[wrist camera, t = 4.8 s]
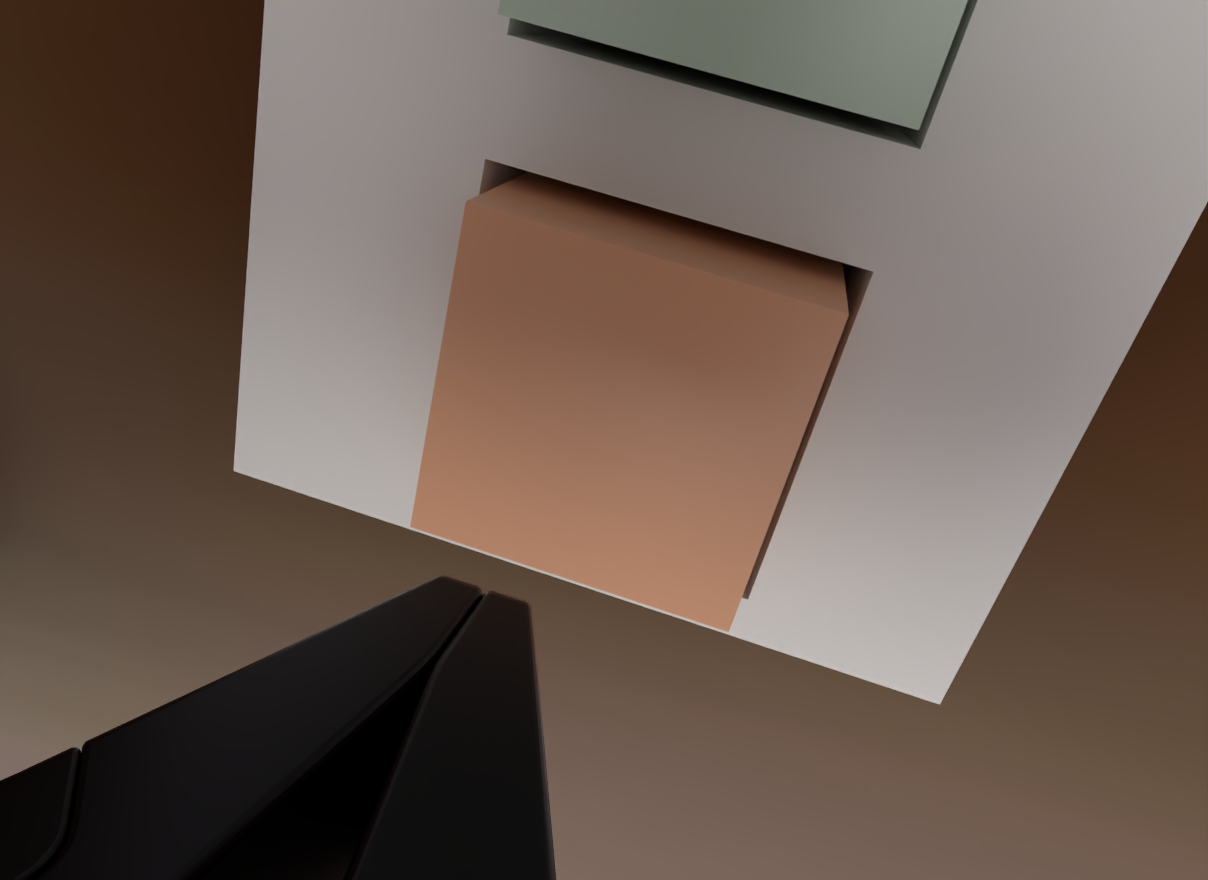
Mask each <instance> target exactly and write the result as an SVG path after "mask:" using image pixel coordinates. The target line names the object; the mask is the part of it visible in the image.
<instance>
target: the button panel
mask: <svg viewBox="0 0 1208 880" xmlns="http://www.w3.org/2000/svg"><path fill="white" fill-rule="evenodd" d="M499 4H500V0H265V4H264V19H263V34H262V49H261V64H260V79H259V94H258V109H257V124H256V139H255V154H254V169H253V185H252V200H251V215H250V230H249V245H248V260H247V275H246V290H245V305H244V320H243V335H242V350H241V366H240V381H239V396H238V411H237V426H236V441H235V456H234V471H235V472H238V473H241V474H244V475H247V476H250V477H253V478H256V479H259V480H262V481H266V482H269V483H272V484H275V485H278V486H281V487H284V488H287V489H290V490H293V491H296V492H299V493H302V494H305V495H308V496H311V497H314V498H317V499H320V500H323V501H326V502H329V503H332V504H335V505H338V506H341V507H344V508H347V509H350V510H353V511H356V512H359V513H362V514H365V515H368V516H371V517H374V518H377V519H380V520H383V521H386V522H389V523H392V524H395V525H399V526H402V527H405V528H408V529H411V530H414V531H417V532H420V533H423V534H426V535H429V536H432V537H435V538H438V539H441V540H444V541H447V542H450V543H453V544H456V545H459V546H462V547H465V548H468V549H471V550H474V551H477V552H480V553H483V554H486V555H489V556H492V557H495V558H498V559H501V560H504V561H507V562H510V563H513V564H516V565H519V566H522V567H525V568H528V569H532V570H535V571H538V572H541V573H544V574H547V575H550V576H553V577H556V578H559V579H562V580H565V581H568V582H571V583H574V584H577V585H580V586H583V587H586V588H589V589H592V590H595V591H598V592H601V593H604V594H607V595H610V596H613V597H616V598H619V599H622V600H625V601H628V602H631V603H634V604H637V605H640V606H643V607H646V608H649V609H652V610H655V611H658V612H661V613H664V614H668V615H671V616H674V617H677V618H680V619H683V620H686V621H689V622H692V623H695V624H698V625H701V626H704V627H707V628H710V629H713V630H716V631H719V632H722V633H725V634H728V635H731V636H734V637H737V638H740V639H743V640H746V641H749V642H752V643H755V644H758V645H761V646H764V647H767V648H770V649H773V650H776V651H779V652H782V653H785V654H788V655H791V656H794V657H797V658H801V659H804V660H807V661H810V662H813V663H816V664H819V665H822V666H825V667H828V668H831V669H834V670H837V671H840V672H843V673H846V674H849V675H852V676H855V677H858V678H861V679H864V680H867V681H870V682H873V683H876V684H879V685H882V686H885V687H888V688H891V689H894V690H897V691H900V692H903V693H906V694H909V695H912V696H915V697H918V698H921V699H924V700H927V701H930V702H934V703H937V704H940V703H941V701H942V699H943V698H944V696H945V694H946V692H947V690H948V688H949V686H950V684H951V683H952V681H953V679H954V677H955V675H956V673H957V671H958V669H959V667H960V666H961V664H962V662H963V660H964V658H965V656H966V654H967V652H968V651H969V649H970V647H971V645H972V643H973V641H974V639H975V637H976V636H977V634H978V632H979V630H980V628H981V626H982V624H983V622H984V621H985V619H986V617H987V615H988V613H989V611H990V609H991V607H992V606H993V604H994V602H995V600H996V598H997V596H998V594H999V592H1000V591H1001V589H1002V587H1003V585H1004V583H1005V581H1006V579H1007V577H1008V576H1009V574H1010V572H1011V570H1012V568H1013V566H1014V564H1015V562H1016V561H1017V559H1018V557H1019V555H1020V553H1021V551H1022V549H1023V547H1024V546H1025V544H1026V542H1027V540H1028V538H1029V536H1030V534H1031V532H1032V530H1033V529H1034V527H1035V525H1036V523H1037V521H1038V519H1039V517H1040V515H1041V514H1042V512H1043V510H1044V508H1045V506H1046V504H1047V502H1048V500H1049V499H1050V497H1051V495H1052V493H1053V491H1054V489H1055V487H1056V485H1057V484H1058V482H1059V480H1060V478H1061V476H1062V474H1063V472H1064V470H1065V469H1066V467H1067V465H1068V463H1069V461H1070V459H1071V457H1072V455H1073V454H1074V452H1075V450H1076V448H1077V446H1078V444H1079V442H1080V440H1081V439H1082V437H1083V435H1084V433H1085V431H1086V429H1087V427H1088V425H1089V424H1090V422H1091V420H1092V418H1093V416H1094V414H1095V412H1096V410H1097V409H1098V407H1099V405H1100V403H1101V401H1102V399H1103V397H1104V395H1105V393H1106V392H1107V390H1108V388H1109V386H1110V384H1111V382H1112V380H1113V378H1114V377H1115V375H1116V373H1117V371H1118V369H1119V367H1120V365H1121V363H1122V362H1123V360H1124V358H1125V356H1126V354H1127V352H1128V350H1129V348H1130V347H1131V345H1132V343H1133V341H1134V339H1135V337H1136V335H1137V333H1138V332H1139V330H1140V328H1141V326H1142V324H1143V322H1144V320H1145V318H1146V317H1147V315H1148V313H1149V311H1150V309H1151V307H1152V305H1153V303H1154V302H1155V300H1156V298H1157V296H1158V294H1159V292H1160V290H1161V288H1162V287H1163V285H1164V283H1165V281H1166V279H1167V277H1168V275H1169V273H1170V272H1171V270H1172V268H1173V266H1174V264H1175V262H1176V260H1177V258H1178V256H1179V255H1180V253H1181V251H1182V249H1183V247H1184V245H1185V243H1186V241H1187V240H1188V238H1189V236H1190V234H1191V232H1192V230H1193V228H1194V226H1195V225H1196V223H1197V221H1198V219H1199V217H1200V215H1201V213H1202V211H1203V210H1204V208H1205V206H1206V204H1207V202H1208V0H968V2H967V4H966V7H965V10H964V12H963V15H962V18H961V20H960V23H959V26H958V28H957V31H956V33H955V36H954V39H953V41H952V44H951V47H950V49H949V52H948V55H947V57H946V60H945V63H944V65H943V68H942V70H941V73H940V76H939V78H938V81H937V84H936V86H935V89H934V92H933V94H932V97H931V99H930V102H929V105H928V107H927V110H926V113H925V115H924V118H923V121H922V123H921V126H920V129H919V130H916V129H912V128H908V127H905V126H901V125H898V124H893V123H889V122H886V121H882V120H878V119H875V118H871V117H868V116H864V115H860V114H857V113H853V112H849V111H846V110H842V109H839V108H835V107H831V106H828V105H824V104H820V103H817V102H813V101H810V100H806V99H802V98H799V97H795V96H791V95H788V94H784V93H781V92H777V91H773V90H770V89H766V88H762V87H759V86H755V85H752V84H748V83H744V82H741V81H737V80H733V79H730V78H726V77H723V76H719V75H715V74H712V73H708V72H704V71H701V70H697V69H693V68H690V67H686V66H683V65H679V64H675V63H672V62H668V61H664V60H661V59H657V58H654V57H650V56H646V55H643V54H639V53H635V52H632V51H628V50H625V49H621V48H617V47H614V46H610V45H606V44H603V43H599V42H596V41H592V40H588V39H585V38H581V37H577V36H575V35H571V34H568V33H564V32H560V31H557V30H553V29H549V28H546V27H542V26H538V25H535V24H531V23H528V22H524V21H520V20H517V19H513V18H509V17H506V16H502V15H499V14H498V10H499ZM527 172H532V173H536V174H539V175H543V176H546V177H549V178H553V179H556V180H560V181H563V182H567V183H570V184H574V185H577V186H580V187H584V188H587V189H591V190H594V191H598V192H601V193H604V194H608V195H611V196H615V197H618V198H622V199H625V200H629V201H632V202H635V203H639V204H642V205H646V206H649V207H653V208H656V209H660V210H663V211H666V212H670V213H673V214H677V215H680V216H684V217H687V218H690V219H694V220H697V221H701V222H704V223H708V224H711V225H715V226H718V227H721V228H725V229H728V230H732V231H735V232H739V233H742V234H746V235H749V236H752V237H756V238H759V239H763V240H766V241H770V242H773V243H776V244H780V245H783V246H787V247H790V248H794V249H797V250H801V251H804V252H807V253H811V254H814V255H818V256H821V257H825V258H828V259H831V260H835V261H838V262H842V263H845V264H844V267H843V272H844V279H845V287H846V295H847V302H848V310H849V316H848V319H847V321H846V324H845V327H844V329H843V332H842V334H841V337H840V340H839V342H838V345H837V348H836V350H835V353H834V356H833V358H832V361H831V364H830V366H829V369H828V371H827V374H826V377H825V379H824V382H823V385H822V387H821V390H820V393H819V395H818V398H817V400H816V403H815V406H814V408H813V411H812V414H811V416H810V419H809V422H808V424H807V427H806V430H805V432H804V435H803V437H802V440H801V443H800V445H799V448H798V451H797V453H796V456H795V459H794V461H793V464H792V466H791V469H790V472H789V474H788V477H787V480H786V482H785V485H784V488H783V490H782V493H781V496H780V498H779V501H778V503H777V506H776V509H775V511H774V514H773V517H772V519H771V522H770V525H769V527H768V530H767V533H766V535H765V538H764V540H763V543H762V546H761V548H760V551H759V554H758V556H757V559H756V562H755V564H754V567H753V569H752V572H751V575H750V577H749V580H748V583H747V585H746V588H745V591H744V593H743V596H742V599H741V601H740V604H739V606H738V609H737V612H736V614H735V617H734V620H733V622H732V625H731V628H730V630H729V632H727V631H724V630H721V629H718V628H715V627H712V626H709V625H706V624H703V623H700V622H697V621H694V620H691V619H688V618H684V617H681V616H678V615H675V614H672V613H669V612H666V611H663V610H660V609H657V608H654V607H651V606H648V605H645V604H642V603H639V602H636V601H633V600H630V599H627V598H624V597H621V596H618V595H615V594H612V593H609V592H606V591H603V590H600V589H597V588H594V587H591V586H588V585H585V584H582V583H579V582H576V581H573V580H570V579H567V578H563V577H560V576H557V575H554V574H551V573H548V572H545V571H542V570H539V569H536V568H533V567H530V566H527V565H524V564H521V563H518V562H515V561H512V560H509V559H506V558H503V557H500V556H497V555H494V554H491V553H488V552H485V551H482V550H479V549H476V548H473V547H470V546H467V545H464V544H461V543H458V542H455V541H452V540H449V539H446V538H442V537H439V536H436V535H433V534H430V533H427V532H424V531H421V530H418V529H415V528H412V527H410V525H411V519H412V513H413V507H414V501H415V496H416V490H417V484H418V478H419V472H420V466H421V461H422V455H423V449H424V443H425V437H426V431H427V425H428V420H429V414H430V408H431V402H432V396H433V390H434V384H435V379H436V373H437V367H438V361H439V355H440V349H441V343H442V338H443V332H444V326H445V320H446V314H447V308H448V303H449V297H450V291H451V285H452V279H453V273H454V267H455V262H456V256H457V250H458V244H459V238H460V232H461V226H462V221H463V215H464V209H465V203H466V201H467V200H469V199H471V198H474V197H476V196H478V195H480V194H482V193H484V192H487V191H489V190H491V189H493V188H495V187H497V186H499V185H502V184H504V183H506V182H508V181H510V180H512V179H515V178H517V177H519V176H521V175H523V174H525V173H527Z"/></svg>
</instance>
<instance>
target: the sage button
mask: <svg viewBox="0 0 1208 880" xmlns="http://www.w3.org/2000/svg"><path fill="white" fill-rule="evenodd" d="M967 2H968V0H500V4H499V10H498V14H499V15H502V16H506V17H509V18H513V19H517V20H520V21H524V22H528V23H531V24H535V25H538V26H542V27H546V28H549V29H553V30H557V31H560V32H564V33H568V34H571V35H575V36H578V37H582V38H586V39H589V40H593V41H597V42H600V43H604V44H607V45H611V46H615V47H618V48H622V49H626V50H629V51H633V52H636V53H640V54H644V55H647V56H651V57H655V58H658V59H662V60H665V61H669V62H673V63H676V64H680V65H684V66H687V67H691V68H694V69H698V70H702V71H705V72H709V73H713V74H716V75H720V76H723V77H727V78H731V79H734V80H738V81H742V82H745V83H749V84H752V85H756V86H760V87H763V88H767V89H771V90H774V91H778V92H782V93H785V94H789V95H792V96H796V97H800V98H803V99H807V100H811V101H814V102H818V103H821V104H825V105H829V106H832V107H836V108H840V109H843V110H847V111H850V112H854V113H858V114H861V115H865V116H869V117H872V118H876V119H879V120H883V121H887V122H890V123H894V124H898V125H901V126H905V127H908V128H912V129H916V130H919V129H920V126H921V123H922V121H923V118H924V115H925V113H926V110H927V107H928V105H929V102H930V99H931V97H932V94H933V92H934V89H935V86H936V84H937V81H938V78H939V76H940V73H941V70H942V68H943V65H944V63H945V60H946V57H947V55H948V52H949V49H950V47H951V44H952V41H953V39H954V36H955V33H956V31H957V28H958V26H959V23H960V20H961V18H962V15H963V12H964V10H965V7H966V4H967Z"/></svg>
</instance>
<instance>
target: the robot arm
mask: <svg viewBox="0 0 1208 880" xmlns="http://www.w3.org/2000/svg"><path fill="white" fill-rule="evenodd" d="M0 880H556V872H555V861H554V849H553V838H552V827H551V815H550V804H549V793H548V782H547V770H546V759H545V748H544V736H543V725H542V714H541V702H540V691H539V680H538V669H537V657H536V646H535V635H534V623H533V612H532V607H531V605H530V604H529V602H527V601H525V600H522V599H518V598H515V597H512V596H509V595H506V594H503V593H500V592H496V591H489V592H487V593H486V594H484V590H483V589H482V588H481V587H480V586H478V585H475V584H472V583H468V582H465V581H462V580H459V579H456V578H453V577H450V576H445V575H442V576H438V577H435V578H433V579H431V580H429V581H427V582H424V583H422V584H420V585H418V586H416V587H414V588H412V589H409V590H407V591H405V592H403V593H401V594H399V595H397V596H395V597H392V598H390V599H388V600H386V601H384V602H382V603H380V604H378V605H375V606H373V607H371V608H369V609H367V610H365V611H363V612H361V613H358V614H356V615H354V616H352V617H350V618H348V619H346V620H343V621H341V622H339V623H337V624H335V625H333V626H331V627H329V628H326V629H324V630H322V631H320V632H318V633H316V634H314V635H312V636H309V637H307V638H305V639H303V640H301V641H299V642H297V643H294V644H292V645H290V646H288V647H286V648H284V649H282V650H280V651H277V652H275V653H273V654H271V655H269V656H267V657H265V658H263V659H260V660H258V661H256V662H254V663H252V664H250V665H248V666H246V667H243V668H241V669H239V670H237V671H235V672H233V673H231V674H228V675H226V676H224V677H222V678H220V679H218V680H216V681H214V682H211V683H209V684H207V685H205V686H203V687H201V688H199V689H197V690H194V691H192V692H190V693H188V694H186V695H184V696H182V697H179V698H177V699H175V700H173V701H171V702H169V703H167V704H165V705H162V706H160V707H158V708H156V709H154V710H152V711H150V712H148V713H145V714H143V715H141V716H139V717H137V718H135V719H133V720H131V721H128V722H126V723H124V724H122V725H120V726H118V727H116V728H113V729H111V730H109V731H107V732H105V733H103V734H101V735H99V736H96V737H94V738H92V739H90V740H88V741H86V742H85V743H84V745H83V747H82V752H81V751H80V749H78V748H70V749H68V750H66V751H64V752H61V753H59V754H57V755H55V756H53V757H51V758H49V759H47V760H44V761H42V762H40V763H38V764H36V765H34V766H32V767H29V768H27V769H25V770H23V771H21V772H19V773H17V774H14V775H12V776H10V777H8V778H5V779H3V780H1V781H0Z"/></svg>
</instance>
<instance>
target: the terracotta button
mask: <svg viewBox="0 0 1208 880" xmlns="http://www.w3.org/2000/svg"><path fill="white" fill-rule="evenodd" d="M848 316H849V310H848V302H847V295H846V287H845V279H844V272H843V264H842V262H838V261H835V260H831V259H828V258H825V257H821V256H818V255H814V254H811V253H807V252H804V251H801V250H797V249H794V248H790V247H787V246H783V245H780V244H776V243H773V242H770V241H766V240H763V239H759V238H756V237H752V236H749V235H746V234H742V233H739V232H735V231H732V230H728V229H725V228H721V227H718V226H715V225H711V224H708V223H704V222H701V221H697V220H694V219H690V218H687V217H684V216H680V215H677V214H673V213H670V212H666V211H663V210H660V209H656V208H653V207H649V206H646V205H642V204H639V203H635V202H632V201H629V200H625V199H622V198H618V197H615V196H611V195H608V194H604V193H601V192H598V191H594V190H591V189H587V188H584V187H580V186H577V185H574V184H570V183H567V182H563V181H560V180H556V179H553V178H549V177H546V176H543V175H539V174H536V173H532V172H527V173H525V174H523V175H521V176H519V177H517V178H515V179H512V180H510V181H508V182H506V183H504V184H502V185H499V186H497V187H495V188H493V189H491V190H489V191H487V192H484V193H482V194H480V195H478V196H476V197H474V198H471V199H469V200H467V201H466V203H465V209H464V215H463V221H462V226H461V232H460V238H459V244H458V250H457V256H456V262H455V267H454V273H453V279H452V285H451V291H450V297H449V303H448V308H447V314H446V320H445V326H444V332H443V338H442V343H441V349H440V355H439V361H438V367H437V373H436V379H435V384H434V390H433V396H432V402H431V408H430V414H429V420H428V425H427V431H426V437H425V443H424V449H423V455H422V461H421V466H420V472H419V478H418V484H417V490H416V496H415V501H414V507H413V513H412V519H411V525H410V527H412V528H415V529H418V530H421V531H424V532H427V533H430V534H433V535H436V536H439V537H442V538H446V539H449V540H452V541H455V542H458V543H461V544H464V545H467V546H470V547H473V548H476V549H479V550H482V551H485V552H488V553H491V554H494V555H497V556H500V557H503V558H506V559H509V560H512V561H515V562H518V563H521V564H524V565H527V566H530V567H533V568H536V569H539V570H542V571H545V572H548V573H551V574H554V575H557V576H560V577H563V578H567V579H570V580H573V581H576V582H579V583H582V584H585V585H588V586H591V587H594V588H597V589H600V590H603V591H606V592H609V593H612V594H615V595H618V596H621V597H624V598H627V599H630V600H633V601H636V602H639V603H642V604H645V605H648V606H651V607H654V608H657V609H660V610H663V611H666V612H669V613H672V614H675V615H678V616H681V617H684V618H688V619H691V620H694V621H697V622H700V623H703V624H706V625H709V626H712V627H715V628H718V629H721V630H724V631H727V632H729V630H730V628H731V625H732V622H733V620H734V617H735V614H736V612H737V609H738V606H739V604H740V601H741V599H742V596H743V593H744V591H745V588H746V585H747V583H748V580H749V577H750V575H751V572H752V569H753V567H754V564H755V562H756V559H757V556H758V554H759V551H760V548H761V546H762V543H763V540H764V538H765V535H766V533H767V530H768V527H769V525H770V522H771V519H772V517H773V514H774V511H775V509H776V506H777V503H778V501H779V498H780V496H781V493H782V490H783V488H784V485H785V482H786V480H787V477H788V474H789V472H790V469H791V466H792V464H793V461H794V459H795V456H796V453H797V451H798V448H799V445H800V443H801V440H802V437H803V435H804V432H805V430H806V427H807V424H808V422H809V419H810V416H811V414H812V411H813V408H814V406H815V403H816V400H817V398H818V395H819V393H820V390H821V387H822V385H823V382H824V379H825V377H826V374H827V371H828V369H829V366H830V364H831V361H832V358H833V356H834V353H835V350H836V348H837V345H838V342H839V340H840V337H841V334H842V332H843V329H844V327H845V324H846V321H847V319H848Z"/></svg>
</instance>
